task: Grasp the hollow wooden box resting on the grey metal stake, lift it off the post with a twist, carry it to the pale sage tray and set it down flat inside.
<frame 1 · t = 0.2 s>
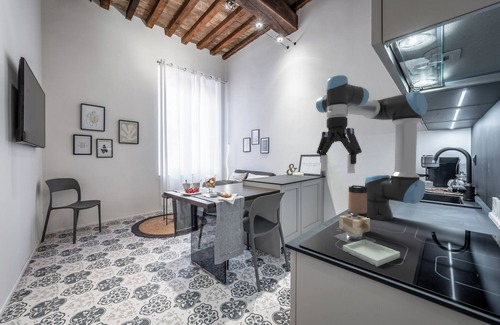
hand: (336, 172, 82), 28 cm above the counter, fingers open, 13 cm apart
travel mug: (357, 230, 96), on the counter
hollow wooden box: (354, 229, 85), point 4 cm above the counter, touching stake
tray: (370, 253, 72), on the counter
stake: (354, 239, 85), on the counter
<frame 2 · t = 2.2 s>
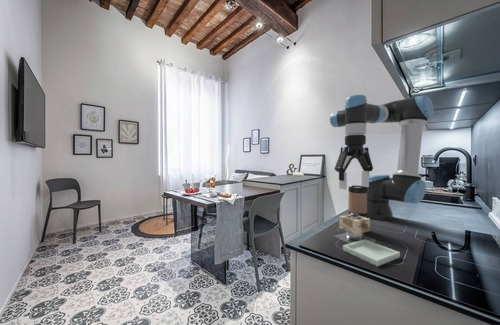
hand: (354, 187, 84), 21 cm above the counter, fingers open, 13 cm apart
nothing on the counter moved.
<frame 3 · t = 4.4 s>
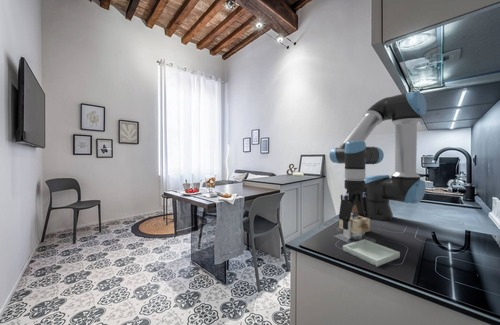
hand: (354, 235, 85), 2 cm above the counter, fingers closed on hollow wooden box, 8 cm apart
hollow wooden box: (354, 229, 85), point 4 cm above the counter, touching gripper, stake
everything else where it was.
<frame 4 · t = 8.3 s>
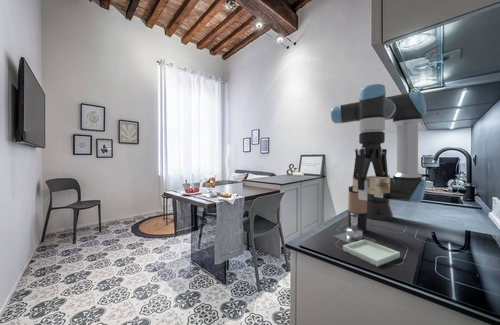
hand: (370, 198, 72), 19 cm above the counter, fingers closed on hollow wooden box, 8 cm apart
hollow wooden box: (370, 191, 72), point 22 cm above the counter, touching gripper
everything else where it was.
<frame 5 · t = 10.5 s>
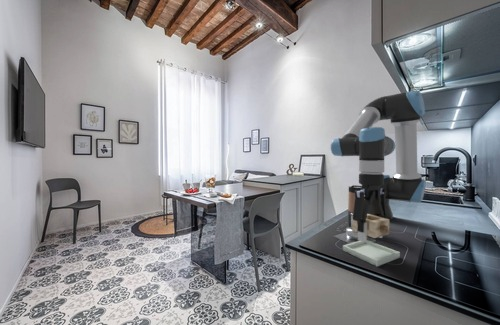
hand: (370, 238, 72), 5 cm above the counter, fingers closed on hollow wooden box, 8 cm apart
hollow wooden box: (370, 232, 72), point 8 cm above the counter, touching gripper
everything else where it was.
when the fingers open (2 cm above the counter, at t = 12.2 s): hollow wooden box drops 4 cm, resting on tray.
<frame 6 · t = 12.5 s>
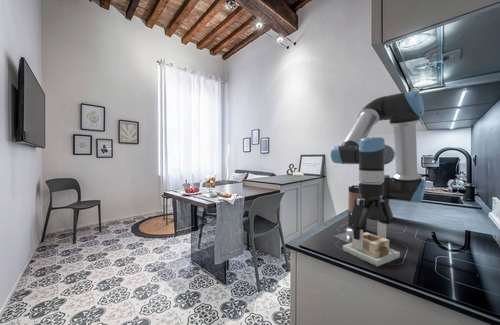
hand: (370, 244, 72), 3 cm above the counter, fingers open, 12 cm apart
hollow wooden box: (370, 252, 72), point 1 cm above the counter, touching tray
everything else where it was.
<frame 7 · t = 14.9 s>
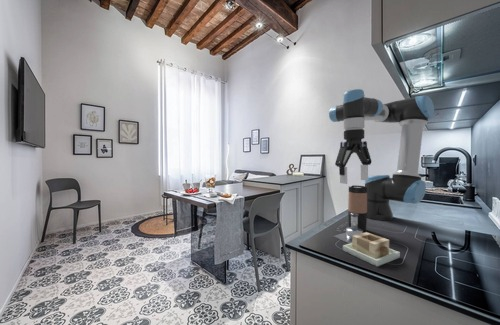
hand: (354, 181, 85), 23 cm above the counter, fingers open, 13 cm apart
nothing on the counter moved.
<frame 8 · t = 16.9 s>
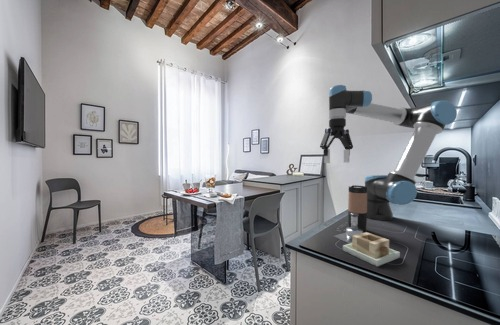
hand: (337, 162, 102), 31 cm above the counter, fingers open, 13 cm apart
nothing on the counter moved.
at the end: hollow wooden box inside the target area on the tray (0.0 cm from its centre), point 0.6 cm above the tray's base; hollow wooden box tilted 0°; the gripper is holding nothing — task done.
